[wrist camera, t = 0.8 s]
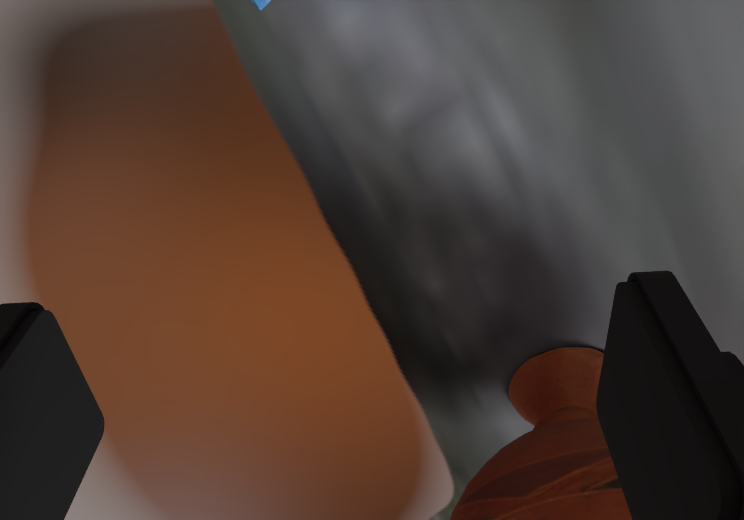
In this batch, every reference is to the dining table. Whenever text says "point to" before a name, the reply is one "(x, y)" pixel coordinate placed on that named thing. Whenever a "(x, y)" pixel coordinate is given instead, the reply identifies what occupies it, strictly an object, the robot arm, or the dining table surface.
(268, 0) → the perfume bottle
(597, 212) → the dining table surface
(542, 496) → the goblet
